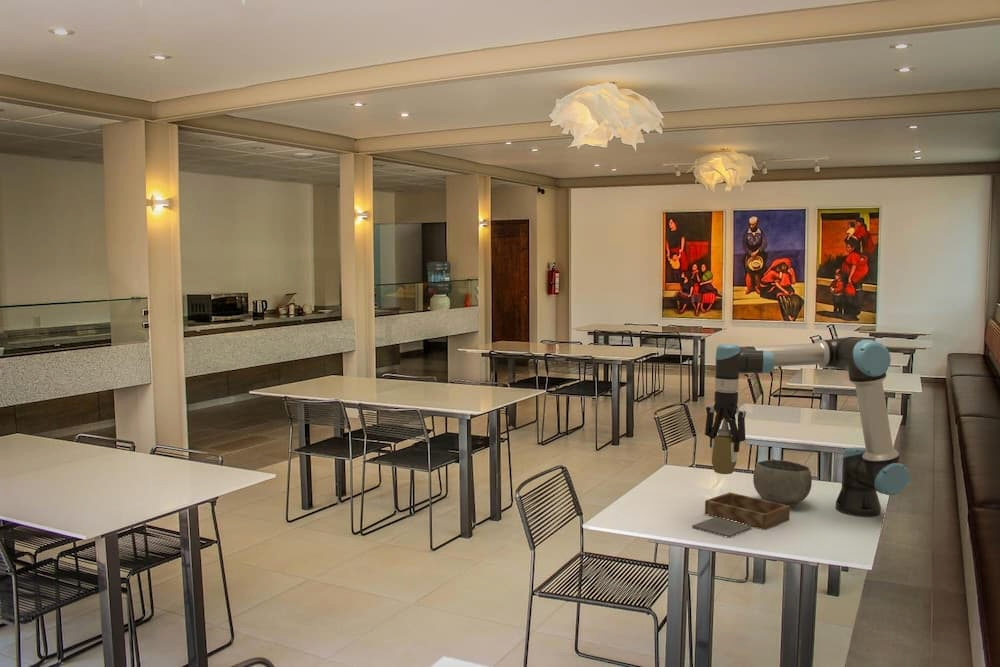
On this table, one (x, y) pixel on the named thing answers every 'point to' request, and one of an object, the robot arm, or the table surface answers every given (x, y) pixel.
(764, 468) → the bowl
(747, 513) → the tray
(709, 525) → the charcoal mat
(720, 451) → the squeeze bottle
